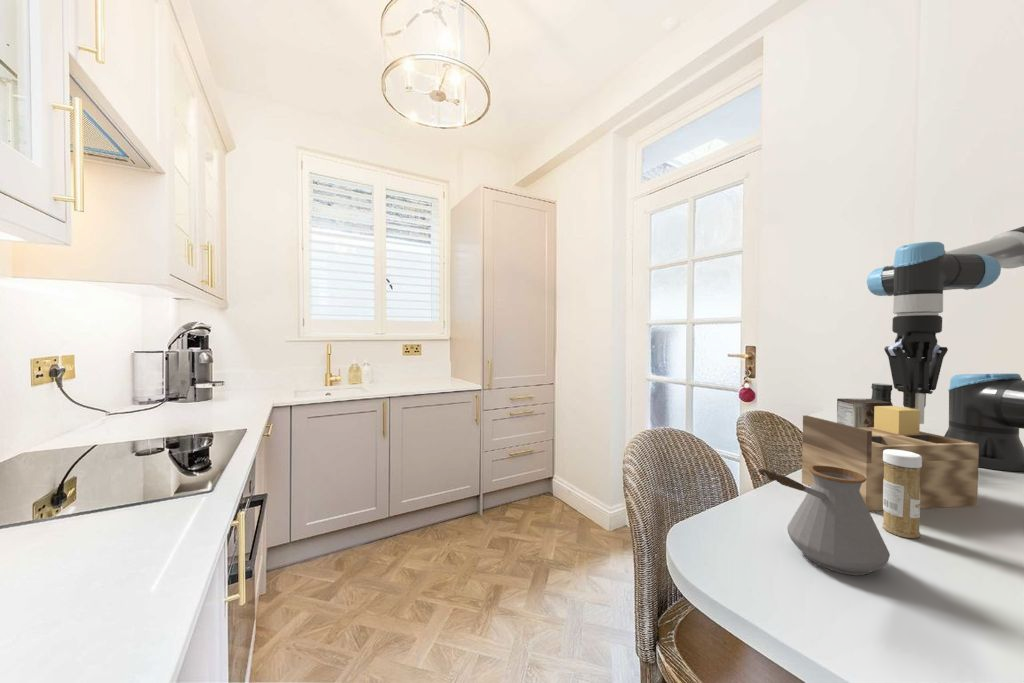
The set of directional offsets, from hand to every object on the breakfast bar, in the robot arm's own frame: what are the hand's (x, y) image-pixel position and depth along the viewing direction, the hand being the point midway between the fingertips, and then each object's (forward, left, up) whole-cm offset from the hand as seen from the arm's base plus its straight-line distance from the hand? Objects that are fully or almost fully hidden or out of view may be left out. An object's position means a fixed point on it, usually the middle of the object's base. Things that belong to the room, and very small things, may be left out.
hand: (913, 422), depth 85 cm
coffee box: (-5, -15, -14) cm, 21 cm away
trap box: (+11, +4, -14) cm, 18 cm away
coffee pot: (+48, +25, -14) cm, 56 cm away
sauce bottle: (-13, -18, -14) cm, 26 cm away
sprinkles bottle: (+25, +18, -14) cm, 34 cm away
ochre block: (+4, 0, -2) cm, 5 cm away
